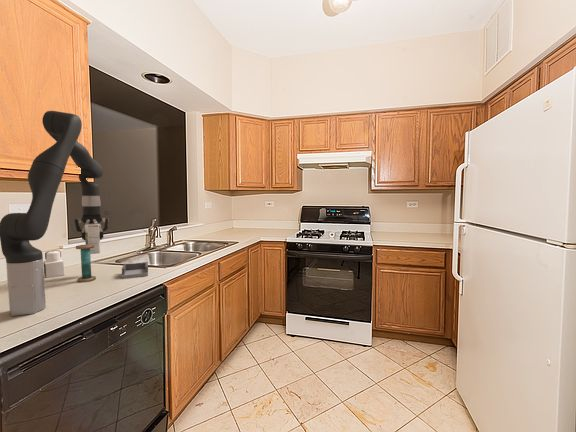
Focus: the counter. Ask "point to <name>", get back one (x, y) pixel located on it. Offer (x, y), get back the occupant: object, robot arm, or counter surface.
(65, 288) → the counter surface
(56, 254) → the medicine bottle
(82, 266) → the bobbin post
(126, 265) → the gray square tray
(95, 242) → the syrup box
